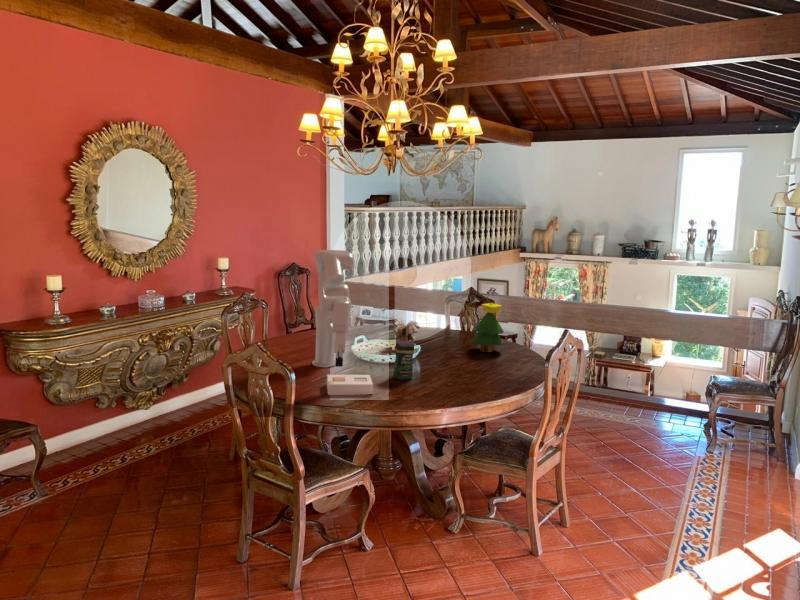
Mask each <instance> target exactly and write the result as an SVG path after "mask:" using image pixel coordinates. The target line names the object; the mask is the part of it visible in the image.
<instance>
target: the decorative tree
mask: <svg viewBox="0 0 800 600" xmlns="http://www.w3.org/2000/svg"><path fill="white" fill-rule="evenodd" d="M481 306H483V308H482V309H481V311H483V312H486V314H484V316H483V317H482V318H481V319H480V320H479V321H478V322H477V324H476V325H475V326H474V328H473V331H474V332H476V333H475V335H474V336H473V337H472V338H471V340H470V341H471V342H473V343H474V344H477V345H480V349H479V352H481V351H482V352H481V353H483V352H492V353H493V348H494V346H502V345H504V341H503V339H502V338H501V336H500V335H501V334H503V333H505V331H504V330H503V329H504V328H502V326H501V324H500V323H499V321H498V319H497V317H496V316H495V313H501V312H502V311H501V310H500V309H501V308H502V307H503V305H500V304H497V303H494V302H493V301H492V302H489V303H481Z"/></svg>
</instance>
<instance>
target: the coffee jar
mask: <svg viewBox="0 0 800 600" xmlns="http://www.w3.org/2000/svg"><path fill="white" fill-rule="evenodd" d="M395 344H396V346H395V351H394V352H395V361H394V366H393V373H392V376H393V378H394V379H396V380H400V381H402V380H403V381H404V380H411V379H413V377H414V372H413V371H414V370H413V358H414V357H413V356H414V354H415V352H414V351H415V349H414V346H415V343H414V342H413V341H411V340H409V342H396V341H395Z"/></svg>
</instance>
